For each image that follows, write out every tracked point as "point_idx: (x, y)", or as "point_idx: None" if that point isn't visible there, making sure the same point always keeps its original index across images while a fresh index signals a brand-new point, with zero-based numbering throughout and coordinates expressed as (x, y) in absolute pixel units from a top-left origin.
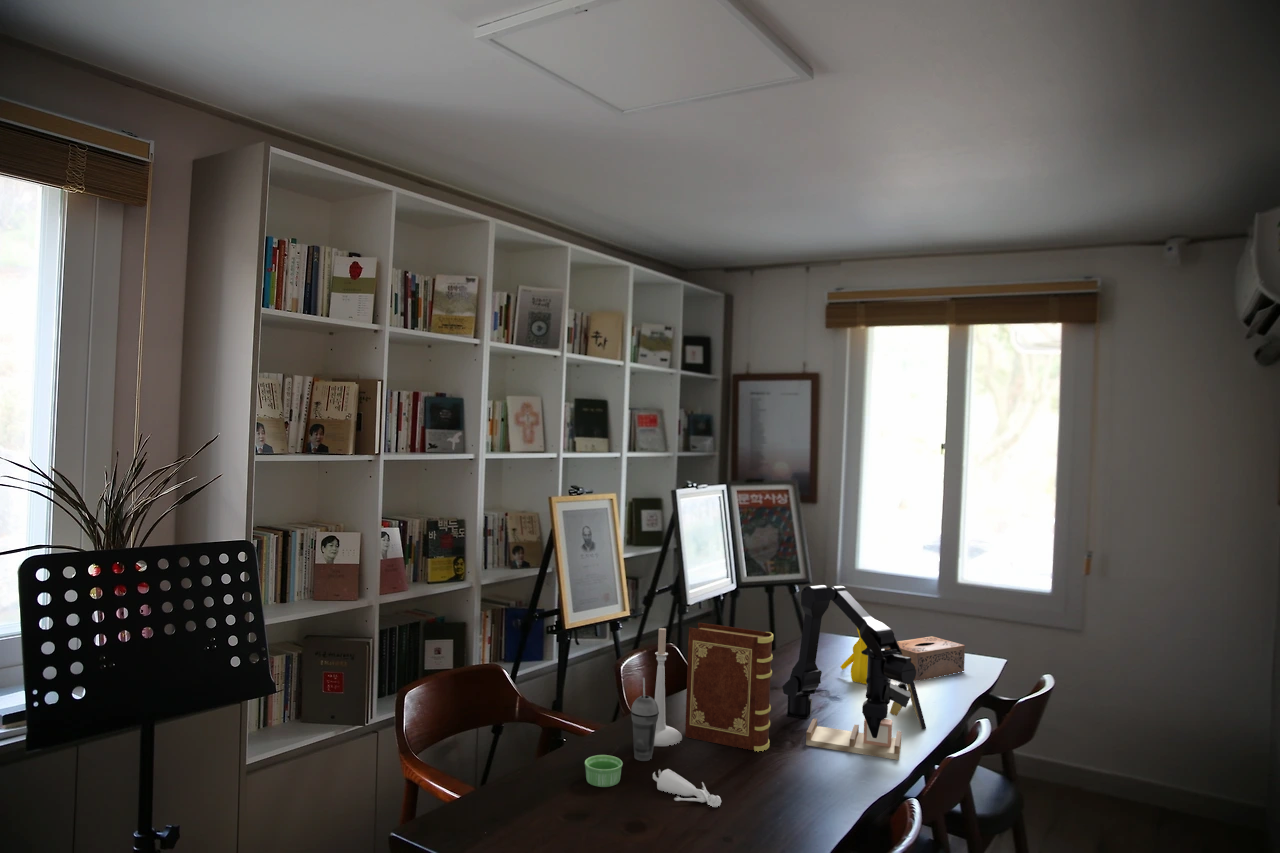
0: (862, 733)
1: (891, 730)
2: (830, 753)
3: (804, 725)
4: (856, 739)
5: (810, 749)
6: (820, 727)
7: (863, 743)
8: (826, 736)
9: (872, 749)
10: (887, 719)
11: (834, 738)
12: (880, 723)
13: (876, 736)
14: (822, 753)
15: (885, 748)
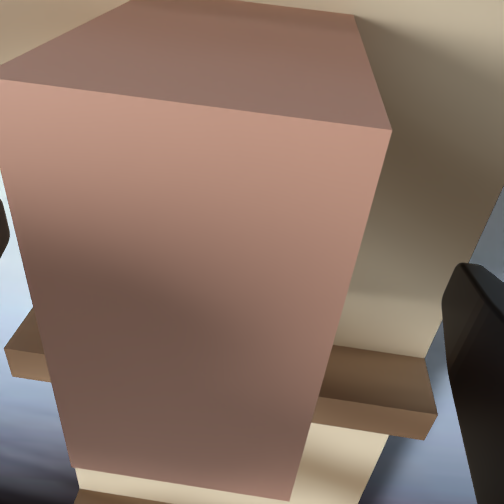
0: None
1: (228, 50)
2: (451, 437)
3: (37, 488)
4: None
5: (400, 501)
6: (94, 478)
7: None
8: None
9: (465, 227)
10: (16, 188)
11: None
12: (333, 331)
13: (495, 284)
14: (457, 467)
15: (413, 87)
